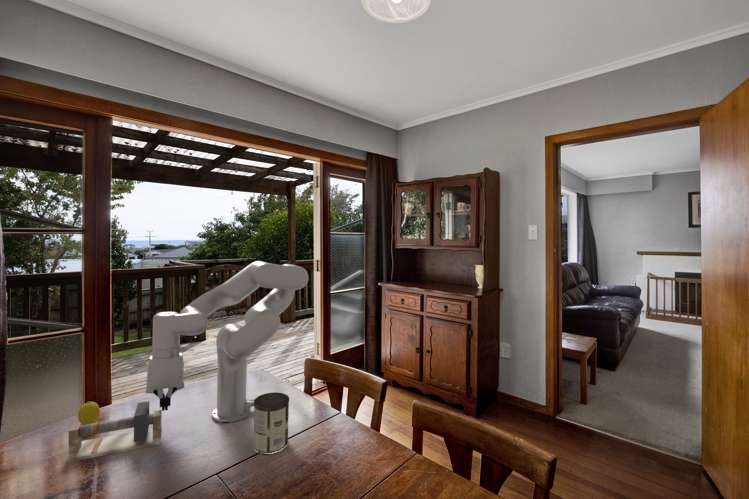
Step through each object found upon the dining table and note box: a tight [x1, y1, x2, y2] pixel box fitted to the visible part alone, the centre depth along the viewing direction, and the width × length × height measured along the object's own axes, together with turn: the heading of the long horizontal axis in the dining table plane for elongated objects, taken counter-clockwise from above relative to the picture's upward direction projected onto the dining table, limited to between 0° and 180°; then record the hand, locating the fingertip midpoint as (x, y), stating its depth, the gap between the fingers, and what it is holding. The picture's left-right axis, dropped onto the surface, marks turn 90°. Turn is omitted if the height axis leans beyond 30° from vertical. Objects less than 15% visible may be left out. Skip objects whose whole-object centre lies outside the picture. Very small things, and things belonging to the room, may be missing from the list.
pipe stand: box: [65, 409, 163, 463], centre depth 108 cm, size 22×9×8 cm, turn 116°
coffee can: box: [253, 391, 290, 453], centre depth 111 cm, size 10×10×14 cm
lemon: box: [77, 401, 101, 425], centre depth 118 cm, size 6×6×8 cm
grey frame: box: [133, 401, 150, 442], centre depth 111 cm, size 3×9×8 cm, turn 26°
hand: (165, 408), depth 116 cm, fingers closed
